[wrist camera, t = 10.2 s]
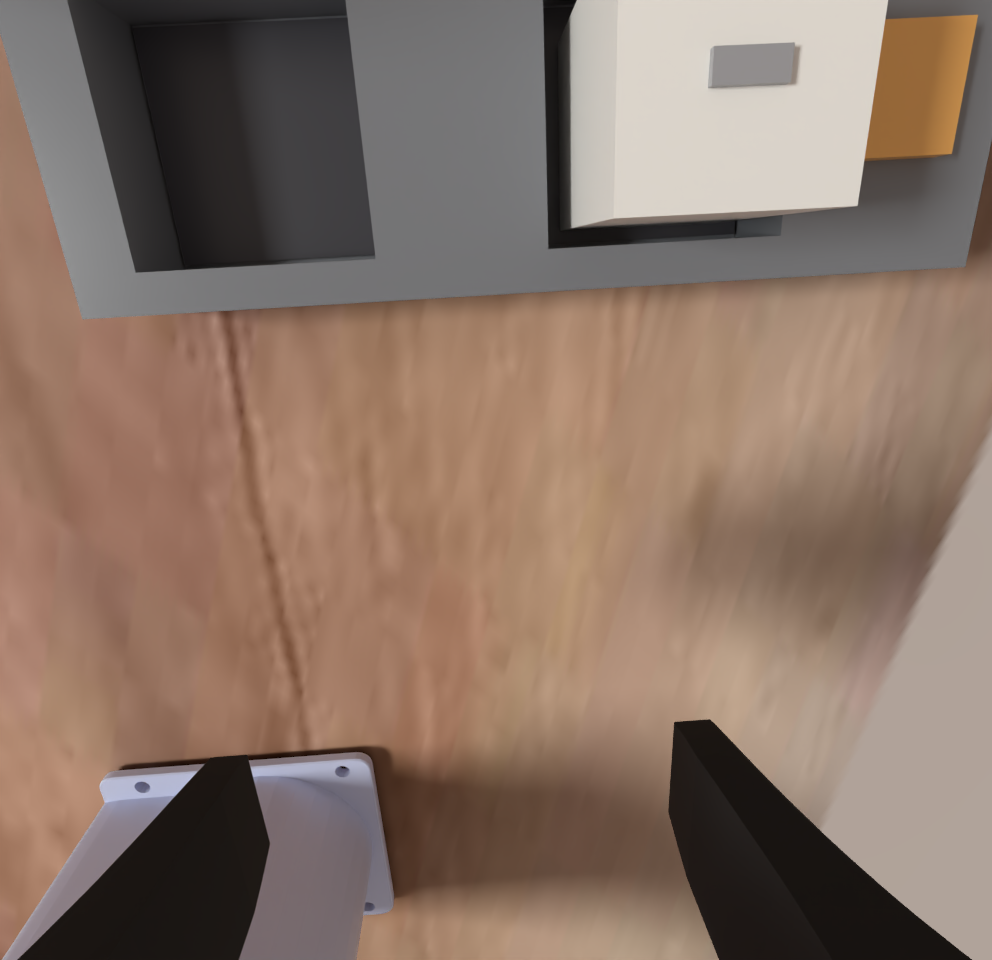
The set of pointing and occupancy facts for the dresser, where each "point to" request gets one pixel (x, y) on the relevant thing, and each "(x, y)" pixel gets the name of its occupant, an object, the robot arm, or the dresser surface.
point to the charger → (713, 109)
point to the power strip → (424, 155)
